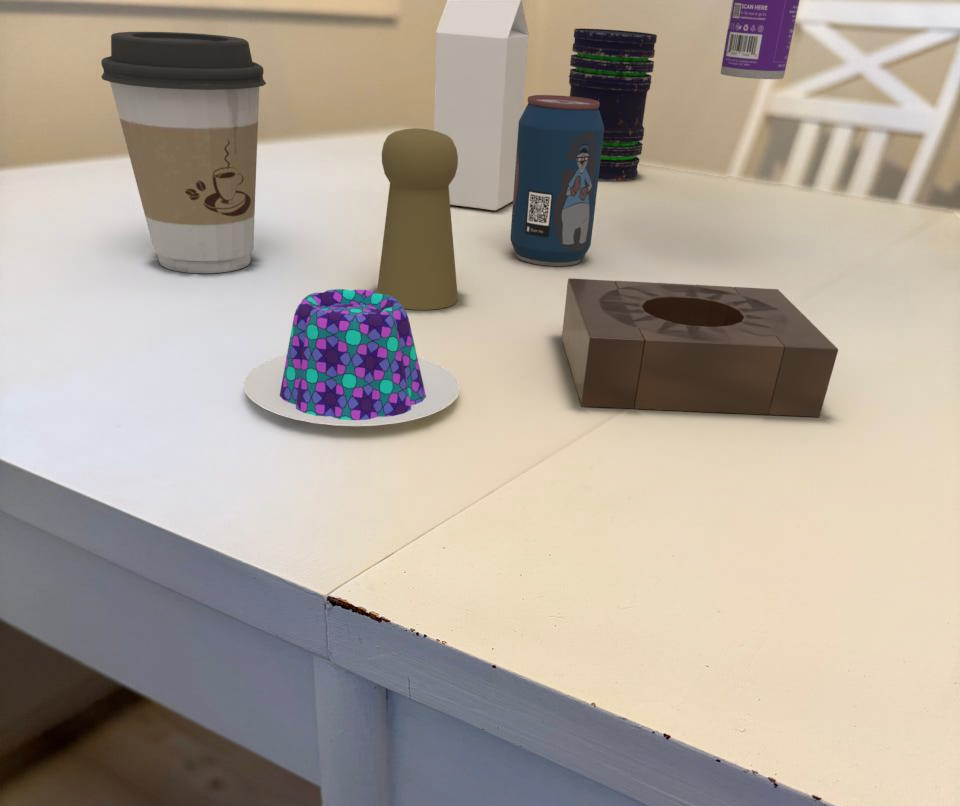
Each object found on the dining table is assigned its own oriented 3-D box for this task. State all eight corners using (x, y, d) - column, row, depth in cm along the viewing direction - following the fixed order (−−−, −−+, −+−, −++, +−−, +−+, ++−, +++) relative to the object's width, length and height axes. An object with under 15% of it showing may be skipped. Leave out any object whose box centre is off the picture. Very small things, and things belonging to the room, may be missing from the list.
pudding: (480, 375, 57) (485, 286, 54) (427, 453, 47) (429, 351, 44) (294, 349, 59) (289, 262, 56) (206, 420, 49) (194, 319, 46)
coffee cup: (183, 289, 68) (152, 44, 59) (101, 256, 74) (62, 29, 65) (307, 266, 75) (296, 44, 66) (223, 237, 81) (203, 30, 72)
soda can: (528, 244, 85) (540, 91, 78) (600, 256, 83) (619, 100, 76) (495, 259, 80) (506, 97, 73) (571, 272, 78) (589, 107, 71)
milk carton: (496, 212, 95) (510, -15, 84) (431, 203, 97) (436, -21, 86) (516, 200, 101) (532, -15, 90) (454, 192, 103) (462, -20, 91)
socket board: (764, 349, 64) (778, 288, 62) (819, 417, 54) (839, 349, 52) (561, 339, 63) (568, 277, 61) (581, 406, 54) (589, 337, 51)
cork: (467, 308, 68) (475, 138, 62) (385, 311, 66) (385, 136, 60) (446, 285, 73) (451, 124, 66) (369, 286, 71) (367, 122, 65)
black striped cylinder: (544, 171, 116) (557, 28, 108) (583, 163, 123) (598, 28, 114) (615, 184, 112) (634, 36, 103) (651, 175, 119) (672, 35, 110)
